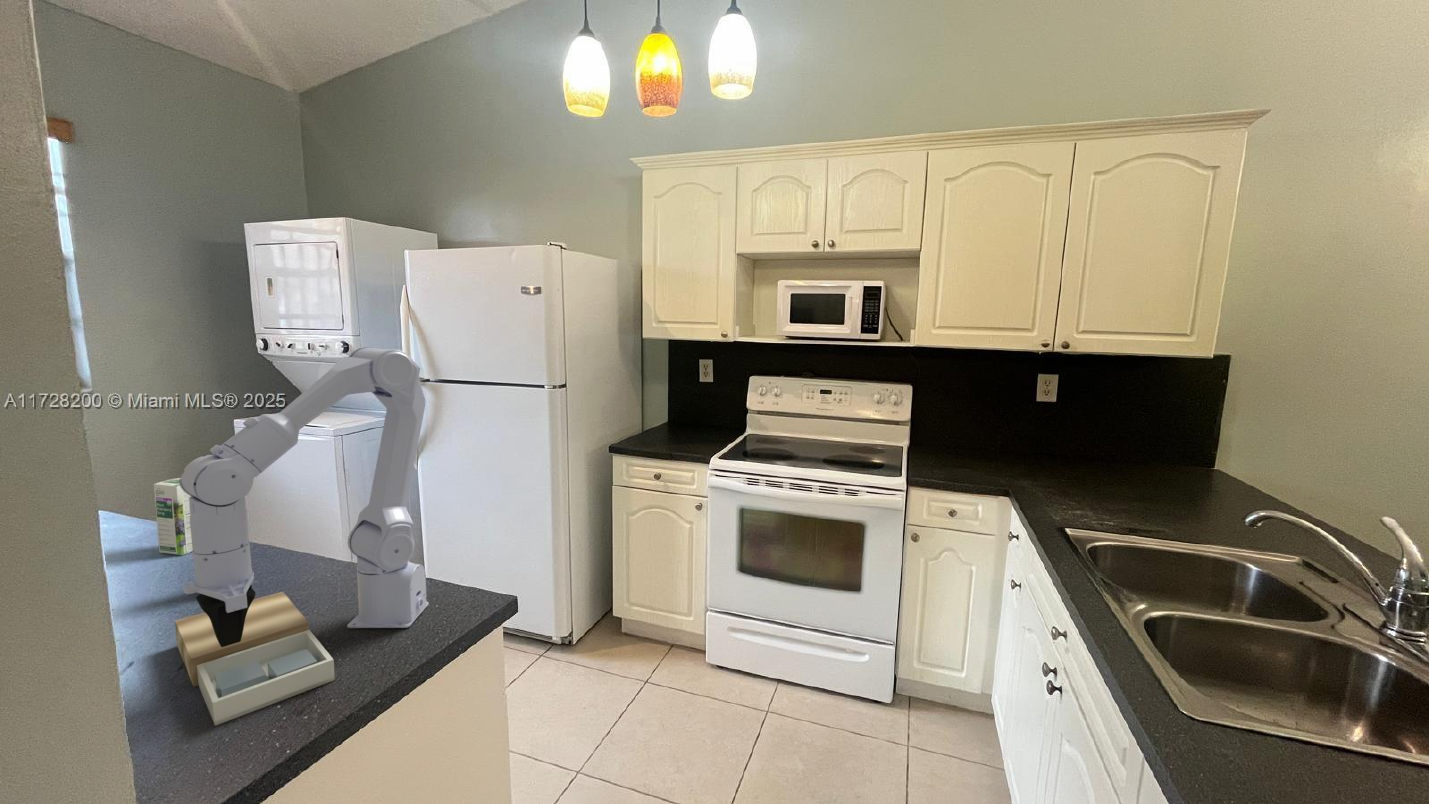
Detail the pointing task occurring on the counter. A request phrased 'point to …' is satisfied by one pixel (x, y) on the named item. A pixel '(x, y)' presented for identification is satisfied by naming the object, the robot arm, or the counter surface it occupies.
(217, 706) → the tray
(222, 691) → the slate tile
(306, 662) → the slate tile
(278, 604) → the maple bench
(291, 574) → the counter surface
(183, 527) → the syrup box
